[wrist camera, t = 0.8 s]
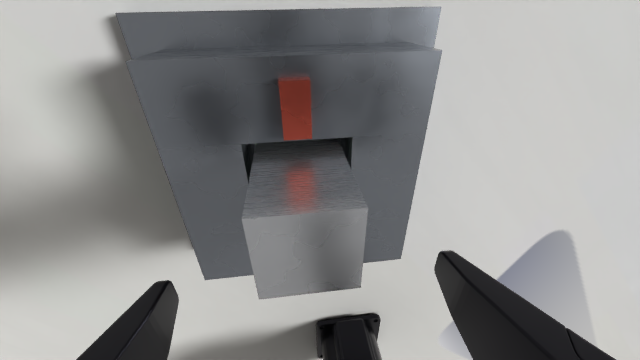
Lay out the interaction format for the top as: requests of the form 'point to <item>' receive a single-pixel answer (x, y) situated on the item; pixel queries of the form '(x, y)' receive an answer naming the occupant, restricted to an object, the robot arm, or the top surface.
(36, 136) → the top surface
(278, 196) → the column
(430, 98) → the housing
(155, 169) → the top surface
